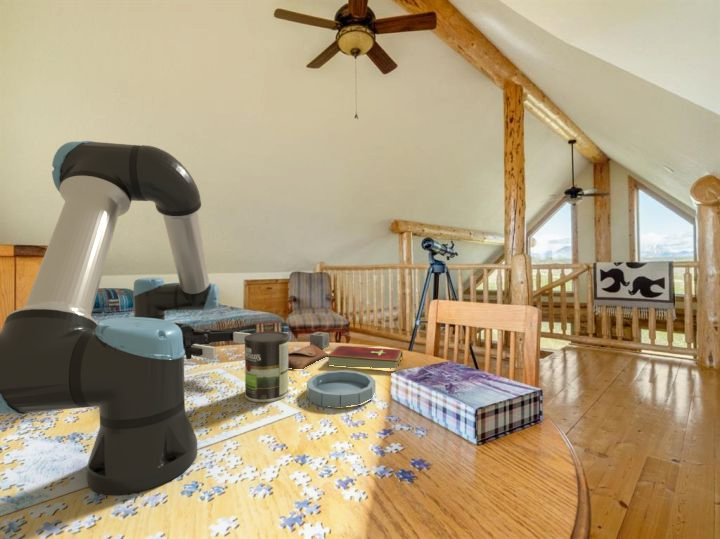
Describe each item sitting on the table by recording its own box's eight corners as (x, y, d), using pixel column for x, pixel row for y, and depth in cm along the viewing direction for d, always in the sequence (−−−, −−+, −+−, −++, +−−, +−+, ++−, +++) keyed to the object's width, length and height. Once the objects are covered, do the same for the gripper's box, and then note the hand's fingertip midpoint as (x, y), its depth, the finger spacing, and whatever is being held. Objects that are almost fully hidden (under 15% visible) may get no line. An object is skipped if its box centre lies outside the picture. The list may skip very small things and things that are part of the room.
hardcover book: (338, 356, 119) (338, 344, 119) (402, 361, 114) (402, 348, 114) (326, 368, 107) (326, 354, 107) (397, 374, 102) (397, 359, 102)
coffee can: (260, 407, 80) (259, 343, 79) (236, 394, 87) (236, 336, 86) (298, 393, 87) (297, 335, 86) (273, 382, 94) (273, 329, 94)
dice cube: (310, 348, 128) (310, 334, 127) (317, 345, 132) (317, 331, 132) (322, 350, 126) (322, 335, 125) (329, 346, 130) (329, 332, 130)
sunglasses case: (301, 371, 103) (291, 350, 104) (284, 380, 106) (274, 359, 107) (333, 355, 119) (324, 336, 120) (317, 363, 122) (308, 345, 123)
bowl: (384, 403, 82) (384, 390, 82) (313, 412, 77) (313, 398, 77) (363, 379, 97) (363, 368, 97) (303, 385, 92) (303, 373, 92)
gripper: (210, 339, 111) (266, 347, 102) (130, 363, 88) (195, 377, 80) (209, 315, 110) (266, 321, 102) (129, 333, 87) (194, 343, 79)
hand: (235, 345), depth 91 cm, fingers open, 13 cm apart
